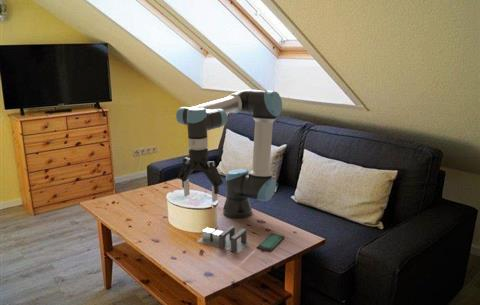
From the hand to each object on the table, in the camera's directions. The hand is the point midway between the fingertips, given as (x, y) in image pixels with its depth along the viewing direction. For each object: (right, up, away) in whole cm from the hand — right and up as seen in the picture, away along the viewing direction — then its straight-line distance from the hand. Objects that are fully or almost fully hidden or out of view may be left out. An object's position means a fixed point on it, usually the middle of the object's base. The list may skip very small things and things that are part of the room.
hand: (200, 198), depth 160 cm
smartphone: (+30, -22, +16) cm, 40 cm away
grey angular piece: (+9, -22, +15) cm, 28 cm away
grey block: (+4, -21, +17) cm, 27 cm away
